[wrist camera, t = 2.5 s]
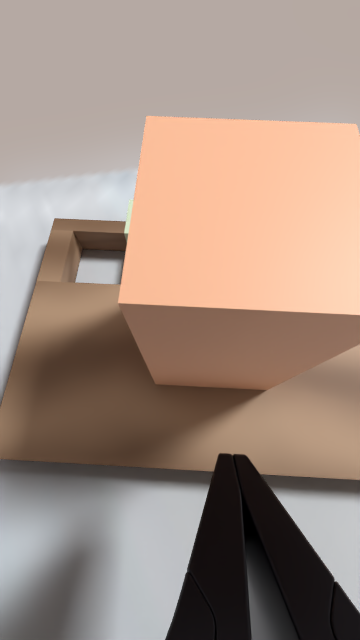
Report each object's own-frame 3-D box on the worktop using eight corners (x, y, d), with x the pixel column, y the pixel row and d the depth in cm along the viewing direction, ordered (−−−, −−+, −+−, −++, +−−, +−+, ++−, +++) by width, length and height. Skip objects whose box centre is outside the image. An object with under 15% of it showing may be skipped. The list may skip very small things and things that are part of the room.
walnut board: (408, 478, 15) (440, 484, 13) (8, 455, 15) (-15, 458, 14) (355, 250, 21) (373, 232, 19) (65, 237, 21) (54, 218, 19)
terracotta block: (266, 390, 15) (413, 318, 6) (155, 384, 15) (117, 302, 6) (260, 291, 17) (356, 123, 8) (163, 286, 17) (146, 115, 8)
